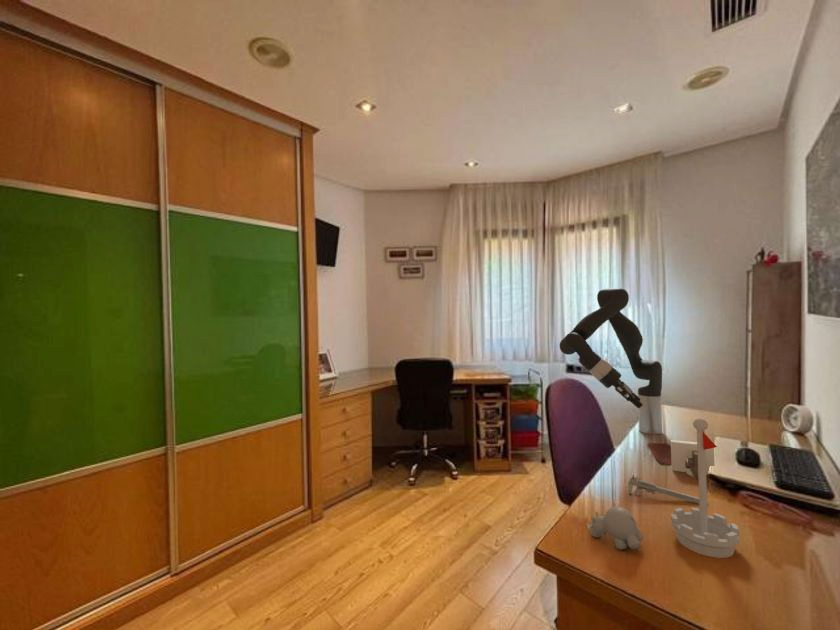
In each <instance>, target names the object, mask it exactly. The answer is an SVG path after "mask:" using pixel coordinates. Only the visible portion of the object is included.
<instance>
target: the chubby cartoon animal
mask: <svg viewBox="0 0 840 630" xmlns="http://www.w3.org/2000/svg"><path fill="white" fill-rule="evenodd" d="M590 518H591V523H589V522H588V521H587V522H586V526H587V528H588V531H589V533H590V535H591V536H592V537H593V536H594V538H596V537H598V538H600V537H601V536H603V535H607V534H609V535H610V536H611V537H612V538H613V540H614V546H615V548H616V549H617V550H619V551H621V550H625V549H627V548H628V547H629V549H631V550H636V549H639V548H640V547H641V543H640V542H641V541H643V540H644V535H643V533H642V532H641V530H640V529H639V528H638V523H637V520H636V518H635V515H633V514H632V513H631V512H630V511H629V510H628V509H626V508H624V507H621V506H611V507H609V508H608V509H606V511H605V513H604V516H602V515H600V514H599V513H598V512H597V511H595V516H591V517H590Z"/></svg>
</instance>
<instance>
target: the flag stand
mask: <svg viewBox="0 0 840 630" xmlns="http://www.w3.org/2000/svg"><path fill="white" fill-rule="evenodd" d="M692 425H693V427H694V429H696V442H697V451H698V498H699V504H698V505H699V508H696V507H691V508H690V511H685V509H683V508H681V507H679V508H678V507H677V508H675V509H673V513H670V514H671V516H670V517H671V519H670V520H671V522H670V523H671V526H672V528H673V529H674V530H675V532H676V538H677V540H678V543H680V544H681V545H682V546H683V547H685V548H687V549H689V550H691V551H692V552H695V553H696V554H700V555H703V556H707V557H709V558H710V557H712V558H720V559H721V558H722V559H723V558H725V559H726V558H730V557H732V556H733V555H734V554H735V546H737V545H738V544H739V543H740V528H739V527H738V524H736V523H731V522H730V523H728V517H725V516H724V515H721V514H719V513H716V512H715V513H713V516H711V515H708V505H707V502H708V491H707V488H708V487H707V475H706V458H705V450H706V449H711V448H714V449H715V448H717V447H718V446H717V445H716V444H715V442H713V441H712V440H711V439H710V438H709V437H708V435H707V434H706V433H705V432H706V430H707V429H708V428H709V423H708V422H707V420H705V419H704V418H701V417H700V418H699V417H698V418H695V419H693V422H692Z"/></svg>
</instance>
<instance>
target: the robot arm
mask: <svg viewBox="0 0 840 630" xmlns="http://www.w3.org/2000/svg"><path fill="white" fill-rule="evenodd" d="M596 298H597V304H598V306H599V308H598V309H597V310H594V311H592V312H591V313H588V314H587V315H586V316H584V317H583V318H582V319H581V320H580V321H579V322H578V323H577V324H576V325H575V327H574V328H573V329H572V330H571V331H570V332H569V333H567V334H566V335H565V336H564V337H563V338H562V339H561V341H560V342H559V350H560V351H561V352H562V353H563V354H565V355H566V356H567V355H568V356H569V355H573V354H575V353H576V354H577V355H578V356H579V357H578V363H579V364H580V365H581V366H582V367H583V368H585V369H586V370H587V371H588V372H589V373H590V375H592V376H593V378H595V379H596V380H597V381H598V382H599V383H600V384H602V386H604V387H605V388H606V389H610V388H611V387H612V386H613V387H614V390H615V391H616V392H617V393H618V394H620V396H622V397H623V398H624V399H625V400H626V401H627V402H630V403H631V404H632V405H634V406H635V407H636V408H637V409H638V430H639V432H641V433H643V434H648V435H662V434H663V414H662V413H663V412H662V411H663V410H662V389H663V368H662V364H661V363H660V362H659V361H658V360H647V359H642V357H641V355H640V350H641V347H642V346H643V341H644V339H643V335H642V334H641V331H640V328H639V327H638V326H637V324H635V322H633V321H632V320H631V319H630V318H628V317H627V316H626V315H624V314H623V313H622V312H621V311H622V310H623V309H625V308H626V307H627V305H628V303H629V301H630V296H629V292H628V291H627V290H626V289H624V288H621V287H619V288H618V287H614V288H613V287H612V288H602V289H600V290H599V291H598V293H597V295H596ZM607 321H608V322H609V323H610V325H611V327H612V329H613V331H614V333H615V335H616V337H617V339H618V341H619V343H620V345H621V346H622V349H623V351H624V353H625V355H626V357H627V359H628V361H629V365H630V368H631V371H632V373H633V375H634V376H635V378H637V379H638V380H642V381H643V380H644V381H649V382H648V384H647V385H645V386H640V387H638V390H637V394H636V393H635V392H633V390H632V389H631V387H630V386H629V385H627V383H625V382H624V381H622V380H621V377H622V374H621V373H620V372H619V371H618V370H617V369H615V367H613V366H612V364H610V363H609V362H608V361H606V360H604V359H603V358H602V357H601V356H600V355H599V354H598V353H596V352H595V351H594V350H593V349H592V347H591V345H590V344H589V343H588V341H587V340H588V339H590V337H592V336H593V335H594V333H595V332H596V331H597V330H598V329H599V328H601V326H602V325H603V324H605V323H606V322H607Z"/></svg>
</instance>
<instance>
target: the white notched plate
mask: <svg viewBox="0 0 840 630" xmlns="http://www.w3.org/2000/svg"><path fill="white" fill-rule="evenodd" d="M670 446H671V466H670V467H671V470H672V471H675V472H681V473H686V471H687V470H686V469H687V468H685V460H686V458H687V459H688V458H692V451H697V441H696V442H695V441H688V440H687V441H686V440H685V441H684V440H676V439H675V440H674V439H670ZM705 458H706V476H709V475H708V471H709V467H710V466H715V448H711V449H706V450H705Z"/></svg>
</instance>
